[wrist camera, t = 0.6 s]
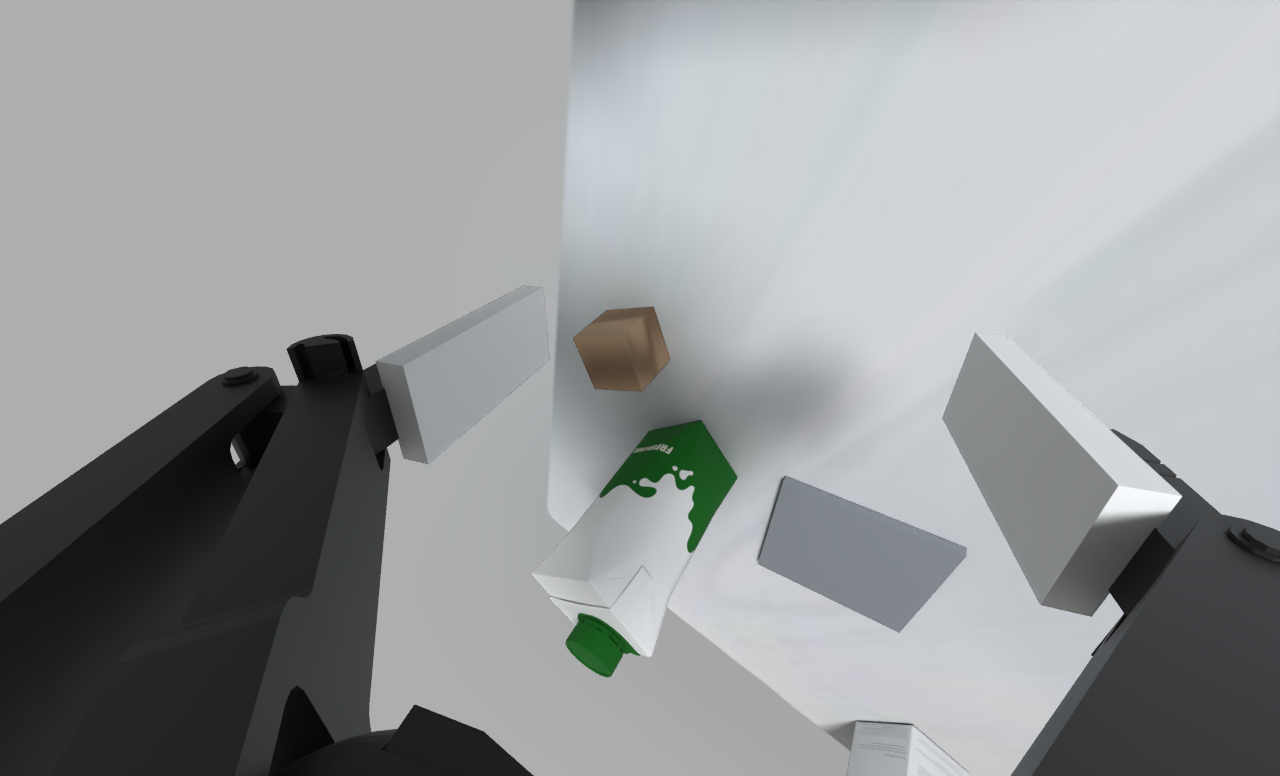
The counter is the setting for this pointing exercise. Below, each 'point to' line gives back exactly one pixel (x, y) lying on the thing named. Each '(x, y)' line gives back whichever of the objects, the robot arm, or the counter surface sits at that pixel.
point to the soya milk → (636, 544)
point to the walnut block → (623, 349)
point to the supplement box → (897, 753)
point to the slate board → (856, 554)
